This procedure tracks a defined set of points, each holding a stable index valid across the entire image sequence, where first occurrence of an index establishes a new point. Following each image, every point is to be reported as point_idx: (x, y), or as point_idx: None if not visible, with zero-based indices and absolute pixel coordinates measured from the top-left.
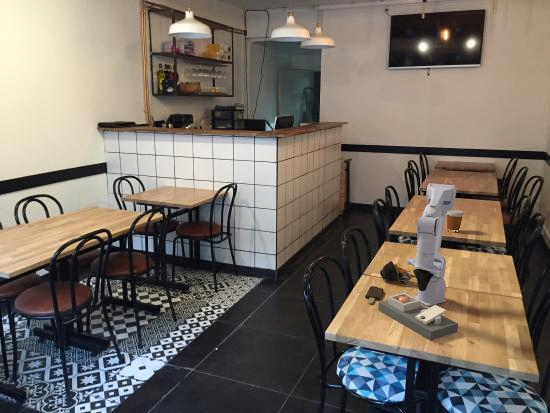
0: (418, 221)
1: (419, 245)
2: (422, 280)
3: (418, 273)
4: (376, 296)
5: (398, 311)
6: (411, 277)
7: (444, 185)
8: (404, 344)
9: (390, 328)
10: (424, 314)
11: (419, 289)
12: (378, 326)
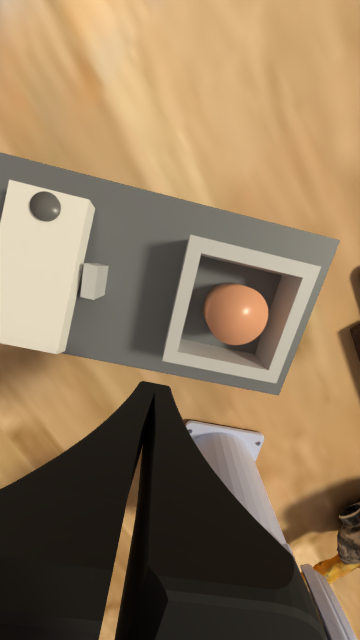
0: None
1: None
2: (86, 444)
3: (145, 558)
4: None
5: (208, 224)
6: (339, 549)
7: None
8: (34, 13)
9: (176, 120)
10: (55, 240)
11: (161, 387)
12: (225, 86)
